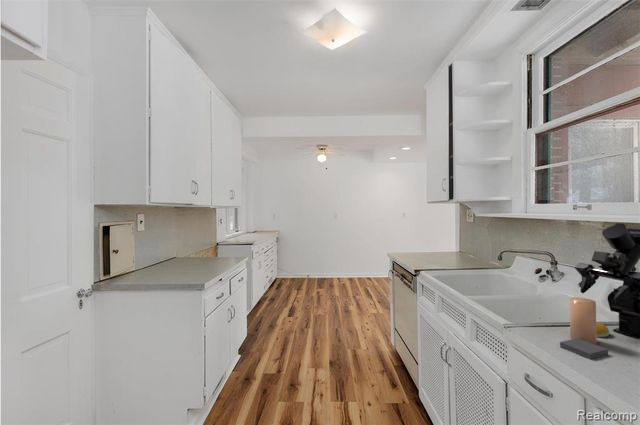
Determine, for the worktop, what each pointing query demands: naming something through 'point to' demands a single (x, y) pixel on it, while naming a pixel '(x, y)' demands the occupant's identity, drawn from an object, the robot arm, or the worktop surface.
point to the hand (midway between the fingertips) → (597, 296)
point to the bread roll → (601, 330)
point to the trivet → (584, 348)
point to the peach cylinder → (583, 319)
